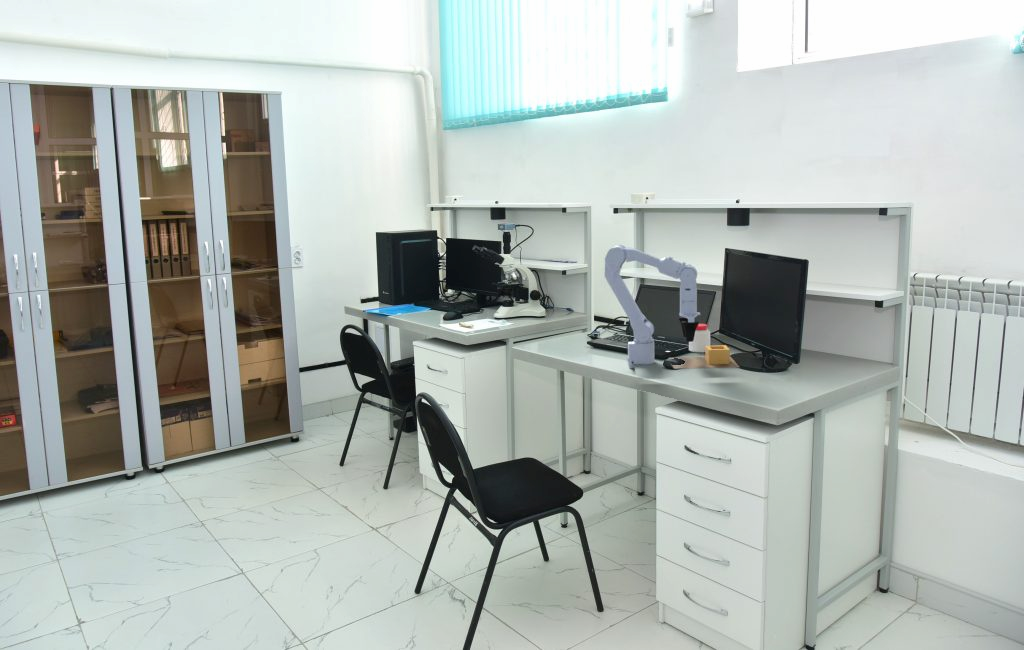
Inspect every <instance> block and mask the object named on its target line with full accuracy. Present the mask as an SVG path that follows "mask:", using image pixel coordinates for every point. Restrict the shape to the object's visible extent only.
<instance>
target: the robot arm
mask: <svg viewBox="0 0 1024 650" xmlns="http://www.w3.org/2000/svg"><path fill="white" fill-rule="evenodd" d="M673 258H674V257H672V256H668V257H667V256H666V257H665V256H664V257H663V258H658V257H656V256H654V255H650V254H648V253H646V252H643V251H641V250H639V249H636V248H635V247H634V248H633V247H630V246H625V245H622V244H617V245H614V246H613V247H611V248H610V249H608V251H607V253H606V255H605V258H604V278H605V280H606V281H607V283H608V285H609V286H610V289H611V290H612V292H613V294H614V295H615V297H616V299H617V301H618V302H619V304H620V306H621V308H622V310H623V311H624V313H625V315H626V317H627V318H628V320H629V323H630V326H631V328H632V332H633V333H632V334H633V337H634V338H633V341H628V342H627V360H626V362H627V365H628V368H629V369H635V365H651V364H654V363H655V339H654V338H653V336H652V335H653V334H654V332H655V325H654V324H653V323H652V322H651V321H650V320H648V319H647V317H646V316H645V315H644V314H643V313H642V310H641V309H640V308H639V306H638V304H637V302H636V300H635V299H634V297H633V295H632V294H631V292H630V290H629V288H628V287H627V285H626V283H625V282H624V280H623V278H622V276H621V274H620V273H621V270H622V267H623V264H625V262H626V263H630V262H634V261H635V262H639V263H642V264H645V265H648V266H651V267H654V268H656V269H657V270H658V272H659V273H660V274H662V275H665V276H668V277H670V278H673V279H675V280H678V279H679V280H680V287H679V314H678V315H679V316H678V317H677V318H678V320H679V323H680V325H681V331H682V336H683V338H685V340H686V342H688V343H689V342H693V340H694V336H695V331H696V328H697V326H698V324H700V322H699V321H695V319H696V318H697V316H701V312H698V305H697V304H698V297H697V296H698V287H697V285H698V283H697V277H698V270H697V269H696V267H695V266H693V265H692V264H687V263H686V262H685V261H684V262H680V261H677V260H674V259H673Z"/></svg>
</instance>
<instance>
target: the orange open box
mask: <svg viewBox="0 0 1024 650" xmlns="http://www.w3.org/2000/svg"><path fill="white" fill-rule="evenodd" d="M730 351H731V350H730V348H729V347H728V346H727V345H726V344H725V345H722V344H721V345H710V346H706V348H705V352H704V353H705V356H704V357H705V360H706V361H707V362H708V364H729V362H730V357H731V356H730Z"/></svg>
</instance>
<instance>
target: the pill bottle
mask: <svg viewBox="0 0 1024 650" xmlns="http://www.w3.org/2000/svg"><path fill="white" fill-rule="evenodd" d="M706 346H711V331H710V329H708V324H706V323H699V324H698V326H697V328H696V331H695V336H694V340H693V342H688V351H690V352H694V353H705V348H706Z"/></svg>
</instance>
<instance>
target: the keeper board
mask: <svg viewBox="0 0 1024 650" xmlns="http://www.w3.org/2000/svg"><path fill="white" fill-rule="evenodd" d="M674 358H675V357H668V360H669V359H674ZM677 358H678V359H682V360H684V361H685V363H684V364H681V365H672V364H671V366H672V368H673V369H676V370H677V369H679V370H680V369H685V370H686V369H724V368H725V369H726V368H728V369H729V368H735V369H736V368H740V366H739V365H738V363H736V361H735V360H734V359H733V358H732V357H731V356H730V362H729V364H708V362H707V361H706V360H705V356H697V357H696V356H693V357H690V356H688V357H687V356H686V357H685V356H684V357H677Z"/></svg>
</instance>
